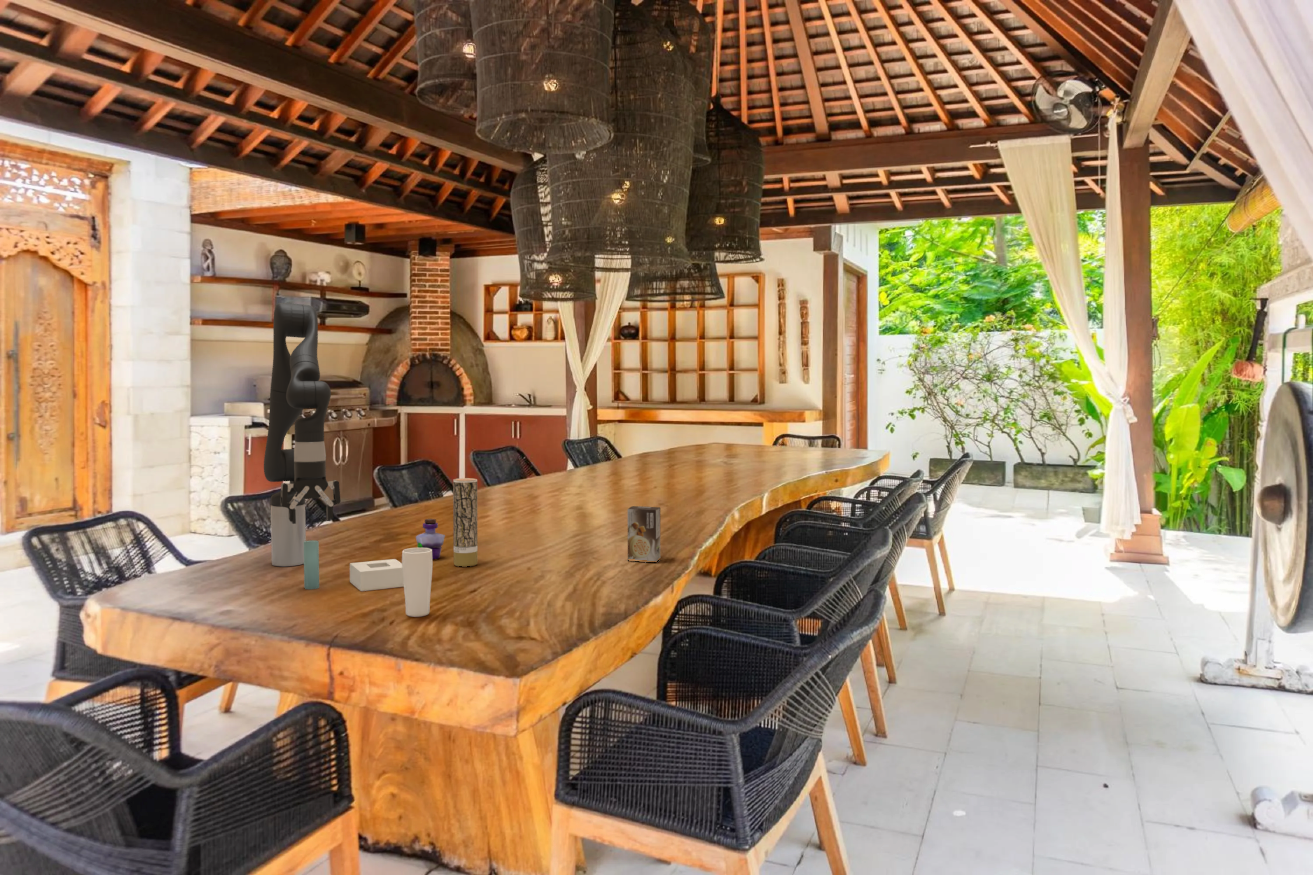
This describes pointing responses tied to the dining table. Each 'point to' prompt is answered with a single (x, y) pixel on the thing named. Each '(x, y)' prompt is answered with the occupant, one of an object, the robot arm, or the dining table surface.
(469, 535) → the paper tube
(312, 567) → the peg
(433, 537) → the potion bottle
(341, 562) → the dining table surface
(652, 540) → the coffee box
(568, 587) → the dining table surface
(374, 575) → the socket block
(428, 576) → the drinking glass
